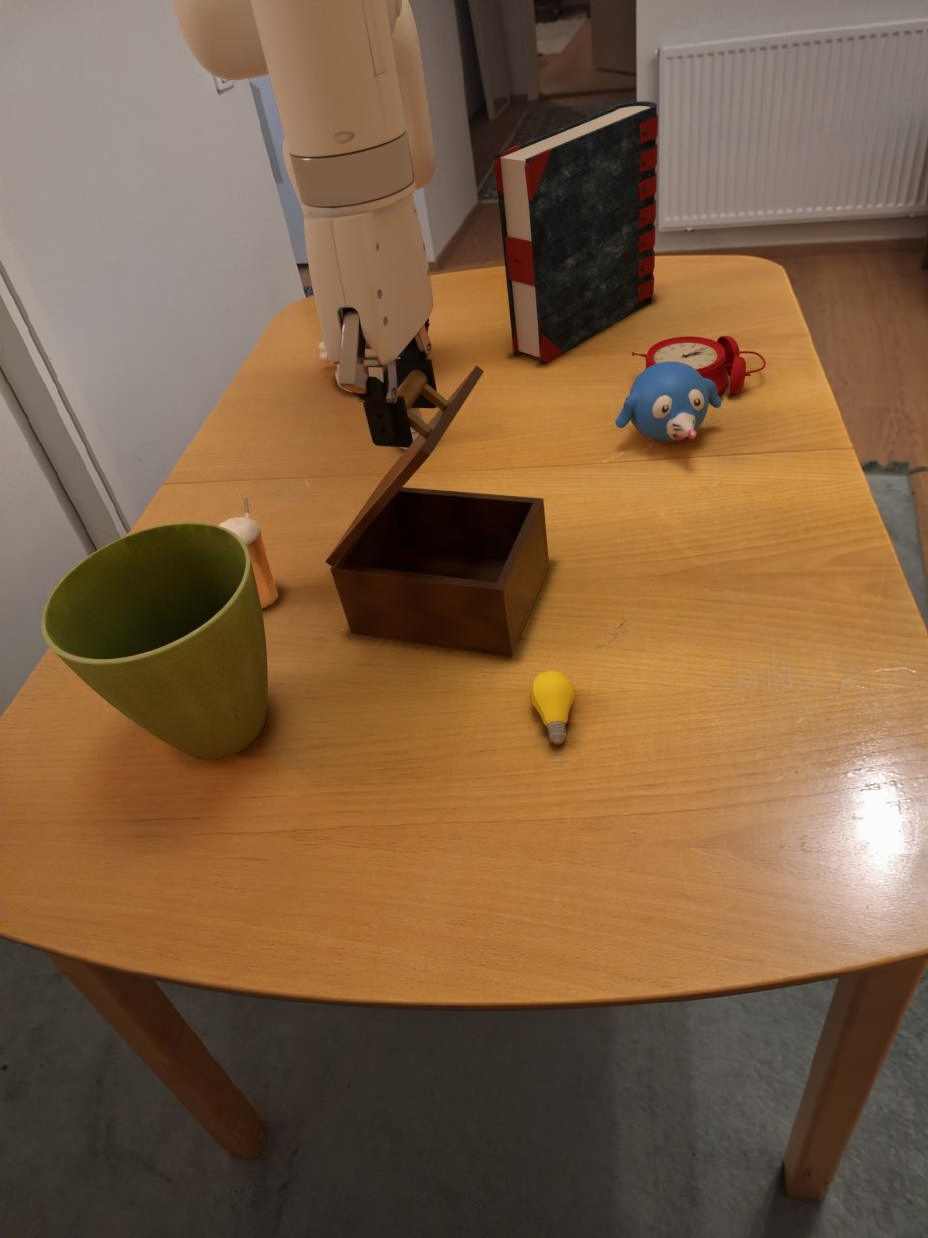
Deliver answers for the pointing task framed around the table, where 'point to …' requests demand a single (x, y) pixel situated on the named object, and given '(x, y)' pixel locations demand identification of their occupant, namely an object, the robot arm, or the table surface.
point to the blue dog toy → (668, 402)
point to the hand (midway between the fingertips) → (406, 422)
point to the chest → (446, 570)
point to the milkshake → (255, 554)
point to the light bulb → (553, 702)
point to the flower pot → (169, 635)
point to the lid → (409, 450)
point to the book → (579, 227)
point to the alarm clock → (705, 358)
